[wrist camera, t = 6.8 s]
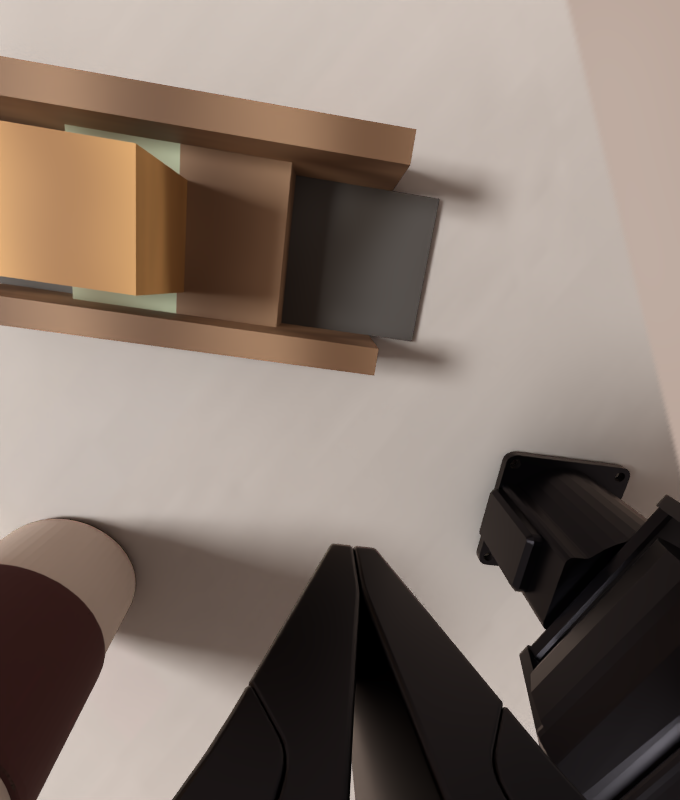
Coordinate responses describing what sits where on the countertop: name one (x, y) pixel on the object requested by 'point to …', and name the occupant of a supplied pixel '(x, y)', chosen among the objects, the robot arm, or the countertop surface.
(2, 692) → the coffee cup
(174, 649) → the countertop surface
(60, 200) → the block
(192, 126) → the trough
